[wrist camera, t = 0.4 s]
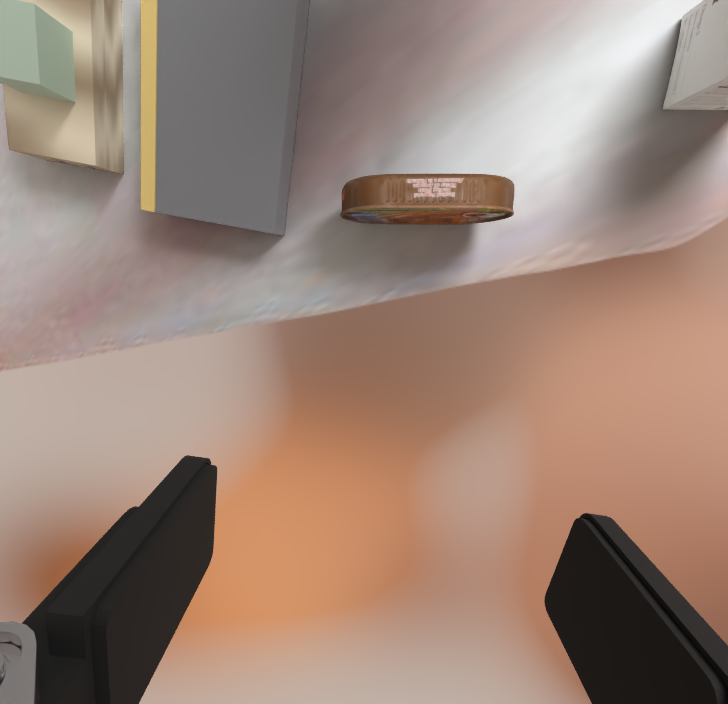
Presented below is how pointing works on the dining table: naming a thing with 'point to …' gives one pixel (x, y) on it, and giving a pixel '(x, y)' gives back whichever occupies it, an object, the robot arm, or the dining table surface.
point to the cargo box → (35, 52)
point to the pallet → (77, 93)
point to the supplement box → (701, 60)
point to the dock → (220, 108)
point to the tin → (427, 199)
